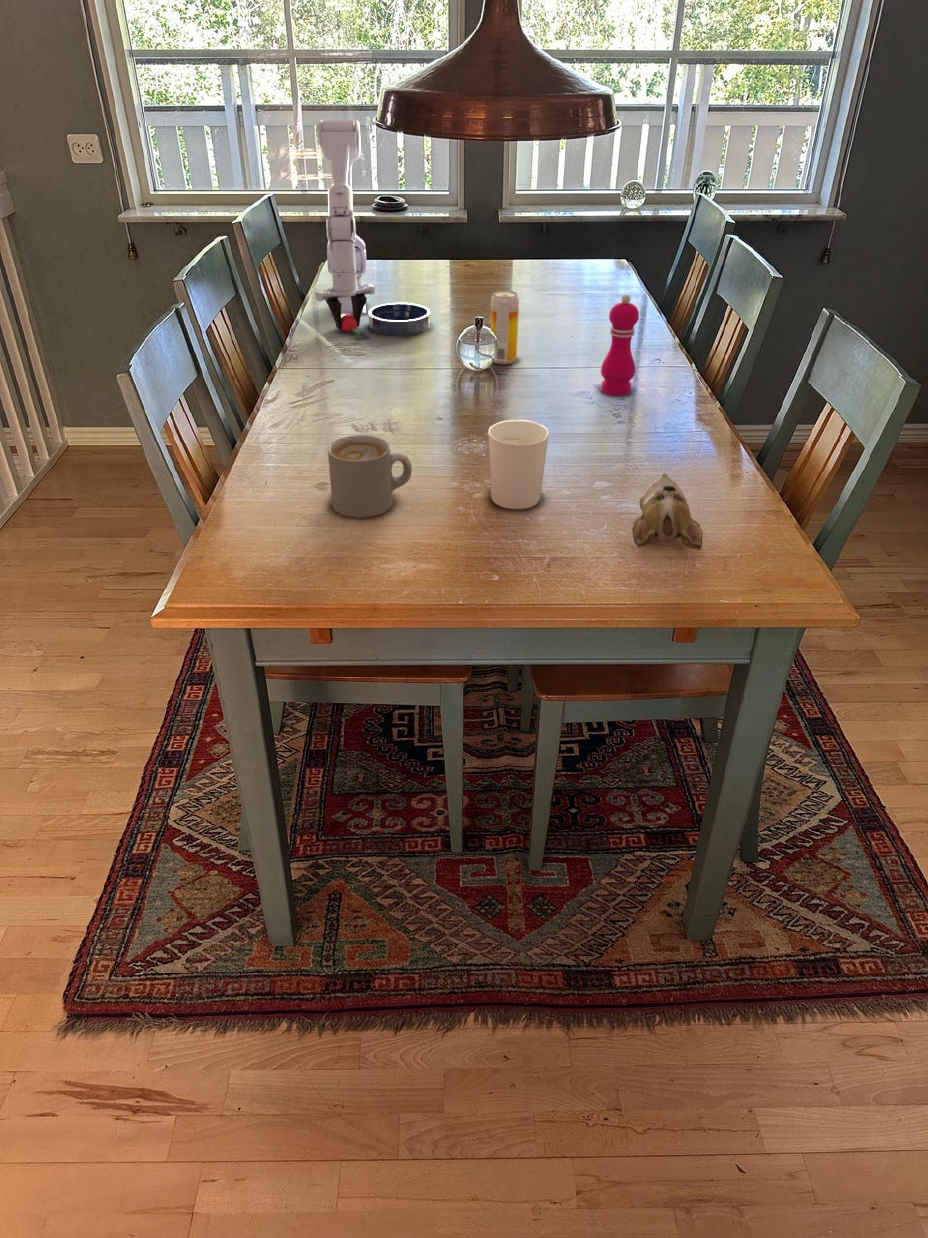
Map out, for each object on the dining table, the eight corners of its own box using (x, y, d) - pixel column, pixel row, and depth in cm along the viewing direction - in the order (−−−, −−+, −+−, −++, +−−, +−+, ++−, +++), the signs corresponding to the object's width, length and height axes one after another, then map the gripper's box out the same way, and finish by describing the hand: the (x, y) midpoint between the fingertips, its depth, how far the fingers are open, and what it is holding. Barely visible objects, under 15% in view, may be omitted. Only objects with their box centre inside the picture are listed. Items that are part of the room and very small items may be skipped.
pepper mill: (631, 398, 188) (643, 301, 176) (597, 395, 189) (607, 298, 178) (633, 385, 194) (645, 291, 182) (600, 383, 195) (609, 288, 183)
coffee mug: (331, 518, 145) (326, 462, 139) (333, 490, 153) (328, 435, 147) (414, 515, 146) (413, 459, 140) (411, 487, 154) (409, 433, 148)
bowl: (368, 319, 230) (367, 303, 228) (427, 317, 232) (426, 302, 229) (370, 338, 218) (370, 322, 215) (432, 336, 219) (432, 320, 217)
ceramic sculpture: (699, 465, 142) (712, 516, 130) (691, 512, 147) (702, 564, 135) (632, 462, 142) (638, 513, 131) (626, 509, 148) (631, 561, 136)
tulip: (336, 328, 224) (335, 312, 221) (351, 326, 225) (350, 310, 223) (352, 341, 216) (351, 325, 214) (367, 339, 217) (366, 322, 215)
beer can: (516, 356, 208) (519, 290, 200) (515, 365, 203) (518, 298, 195) (490, 355, 209) (492, 289, 200) (488, 364, 204) (490, 296, 195)
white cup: (509, 479, 157) (512, 414, 150) (555, 496, 152) (560, 430, 145) (474, 499, 150) (475, 432, 144) (521, 518, 145) (525, 449, 139)
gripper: (320, 277, 208) (325, 335, 216) (378, 270, 214) (380, 327, 222) (310, 269, 213) (315, 327, 221) (367, 263, 219) (370, 319, 227)
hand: (347, 326), depth 222 cm, fingers closed on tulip, 4 cm apart
